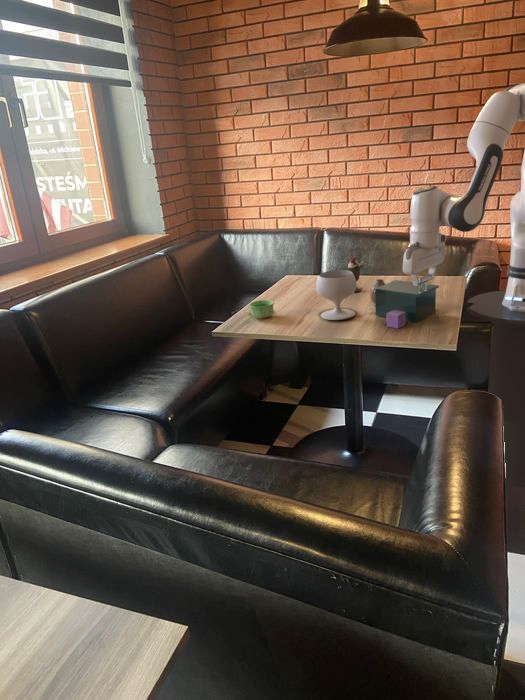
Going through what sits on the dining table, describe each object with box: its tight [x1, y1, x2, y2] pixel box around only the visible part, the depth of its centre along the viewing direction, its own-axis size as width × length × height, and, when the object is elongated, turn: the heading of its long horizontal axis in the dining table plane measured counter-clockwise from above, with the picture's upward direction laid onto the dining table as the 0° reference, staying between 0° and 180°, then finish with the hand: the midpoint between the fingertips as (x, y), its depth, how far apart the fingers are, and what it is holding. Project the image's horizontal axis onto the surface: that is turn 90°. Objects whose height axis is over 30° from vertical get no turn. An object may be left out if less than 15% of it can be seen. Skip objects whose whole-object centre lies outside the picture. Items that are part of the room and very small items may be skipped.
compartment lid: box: [375, 275, 440, 297], centre depth 180 cm, size 17×13×5 cm
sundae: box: [345, 254, 363, 293], centre depth 216 cm, size 7×7×15 cm
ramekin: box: [248, 299, 274, 319], centre depth 197 cm, size 9×9×4 cm
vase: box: [369, 278, 386, 305], centre depth 197 cm, size 7×7×9 cm
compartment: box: [375, 289, 437, 323], centre depth 183 cm, size 16×13×9 cm
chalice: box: [315, 269, 358, 321], centre depth 186 cm, size 14×14×15 cm
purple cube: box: [385, 310, 407, 329], centre depth 173 cm, size 4×4×4 cm
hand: (423, 282), depth 175 cm, fingers open, 7 cm apart
